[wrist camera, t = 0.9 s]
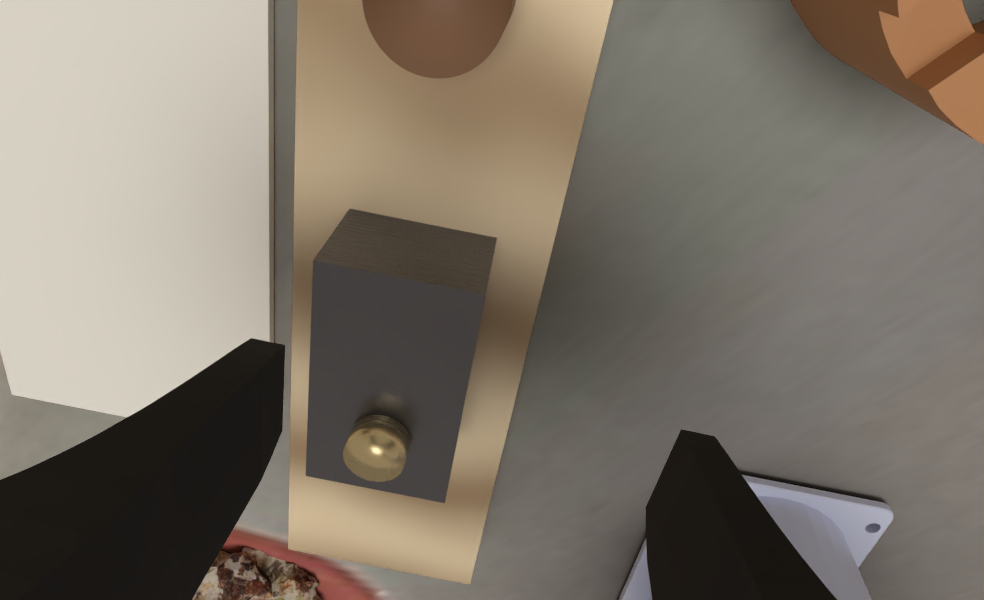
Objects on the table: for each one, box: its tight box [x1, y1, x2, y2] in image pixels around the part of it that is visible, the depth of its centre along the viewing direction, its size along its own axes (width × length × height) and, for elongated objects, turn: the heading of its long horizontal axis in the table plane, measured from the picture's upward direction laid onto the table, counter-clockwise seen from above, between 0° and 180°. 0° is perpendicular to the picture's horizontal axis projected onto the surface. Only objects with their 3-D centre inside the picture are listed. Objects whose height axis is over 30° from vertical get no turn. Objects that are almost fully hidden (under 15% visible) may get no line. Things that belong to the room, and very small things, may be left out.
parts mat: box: [0, 0, 274, 417], centre depth 22 cm, size 16×10×1 cm, turn 170°
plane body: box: [288, 0, 613, 585], centre depth 20 cm, size 22×7×5 cm, turn 170°
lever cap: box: [306, 209, 497, 503], centre depth 18 cm, size 7×4×4 cm, turn 170°
